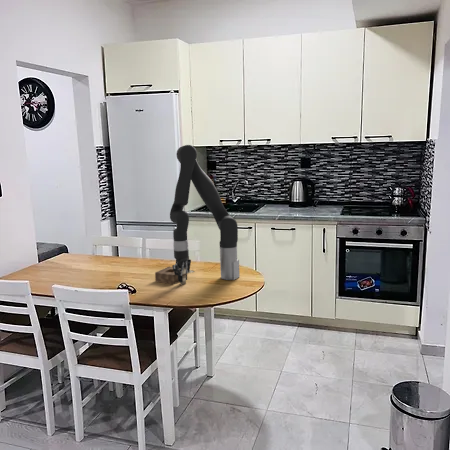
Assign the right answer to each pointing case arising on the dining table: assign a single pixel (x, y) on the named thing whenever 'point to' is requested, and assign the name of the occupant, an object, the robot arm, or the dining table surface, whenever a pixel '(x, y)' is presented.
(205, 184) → the robot arm
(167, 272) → the socket block
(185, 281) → the peg
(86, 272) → the dining table surface
